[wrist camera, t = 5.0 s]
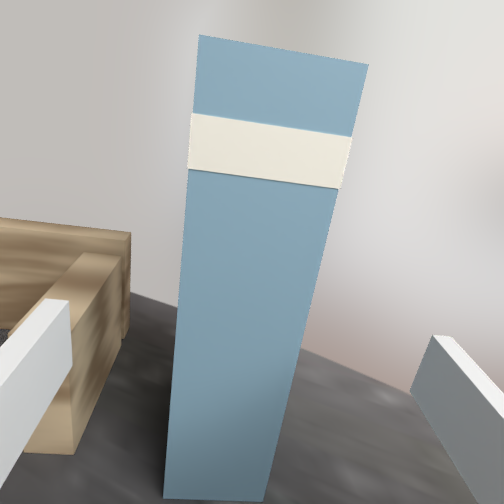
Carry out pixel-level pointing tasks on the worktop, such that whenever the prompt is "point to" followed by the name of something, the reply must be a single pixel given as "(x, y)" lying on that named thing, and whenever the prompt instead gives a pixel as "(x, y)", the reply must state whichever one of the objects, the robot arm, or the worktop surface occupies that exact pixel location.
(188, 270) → the book
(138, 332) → the worktop surface
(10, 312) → the oak shelf
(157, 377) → the worktop surface
